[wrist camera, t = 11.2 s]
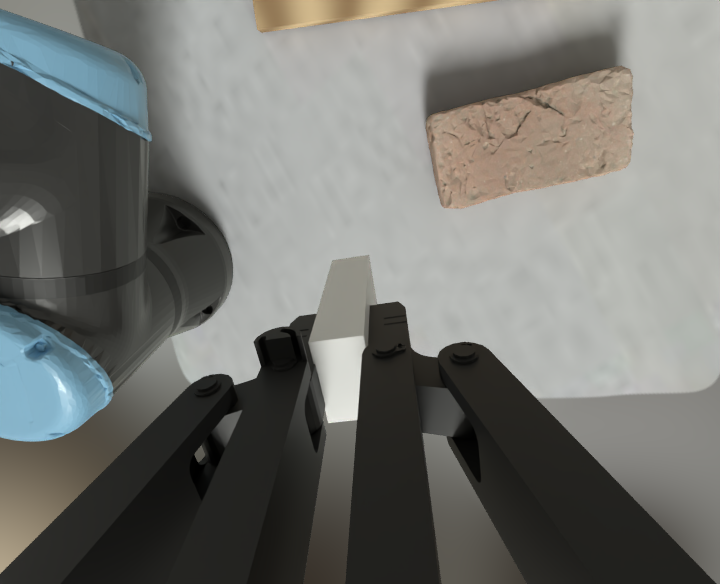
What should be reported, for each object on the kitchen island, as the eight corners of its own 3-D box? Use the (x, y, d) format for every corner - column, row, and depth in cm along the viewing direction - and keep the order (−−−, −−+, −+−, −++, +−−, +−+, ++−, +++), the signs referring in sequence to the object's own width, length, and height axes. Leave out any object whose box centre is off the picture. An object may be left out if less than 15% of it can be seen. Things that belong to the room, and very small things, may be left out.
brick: (612, 64, 37) (640, 59, 33) (614, 162, 40) (641, 169, 36) (422, 115, 40) (425, 116, 36) (438, 203, 43) (442, 214, 39)
